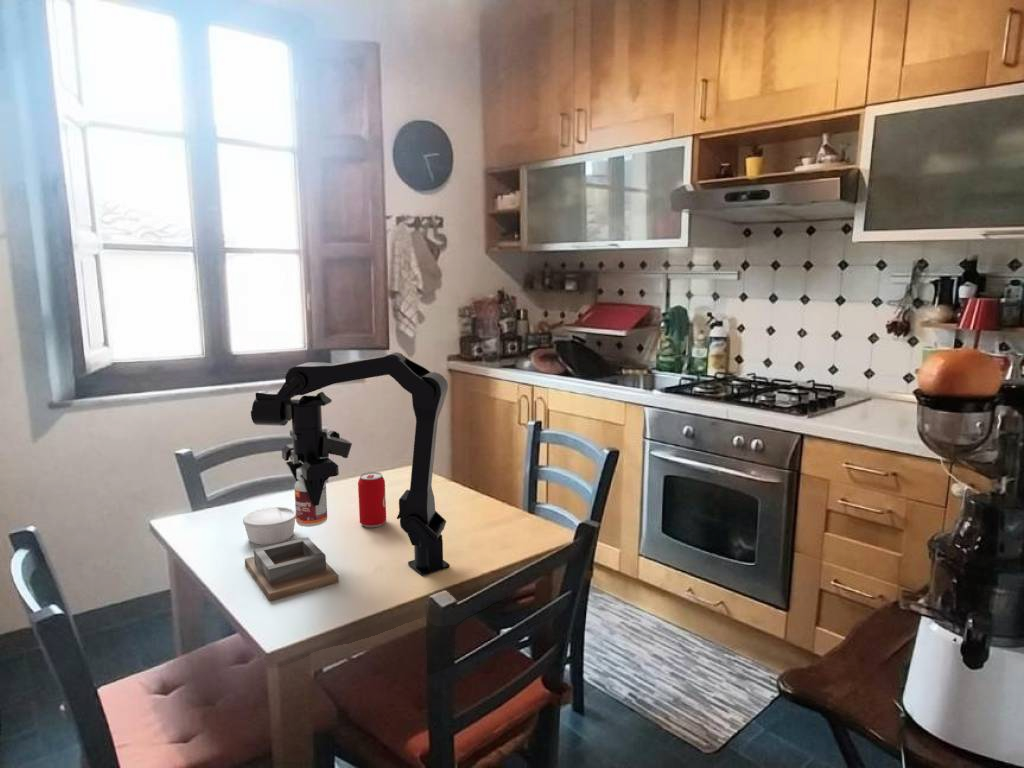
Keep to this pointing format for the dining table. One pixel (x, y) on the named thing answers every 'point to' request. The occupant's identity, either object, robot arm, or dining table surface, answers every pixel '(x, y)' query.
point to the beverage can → (372, 499)
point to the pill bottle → (309, 505)
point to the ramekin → (270, 525)
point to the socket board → (290, 568)
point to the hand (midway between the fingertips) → (311, 500)
